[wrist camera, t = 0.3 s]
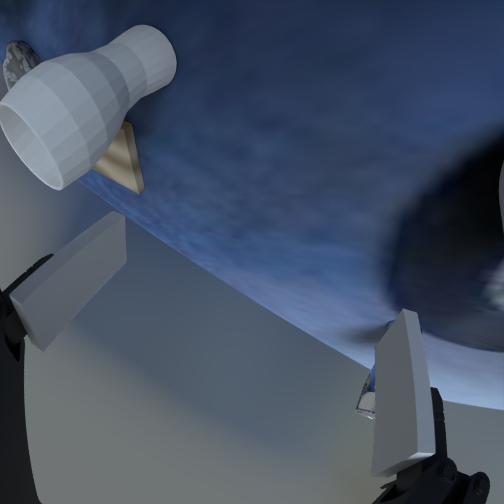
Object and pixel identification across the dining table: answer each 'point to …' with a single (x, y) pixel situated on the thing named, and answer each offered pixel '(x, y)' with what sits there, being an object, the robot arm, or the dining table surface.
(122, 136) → the oak board
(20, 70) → the brain slice
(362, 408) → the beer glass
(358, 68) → the dining table surface
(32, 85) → the cup
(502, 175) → the teacup
